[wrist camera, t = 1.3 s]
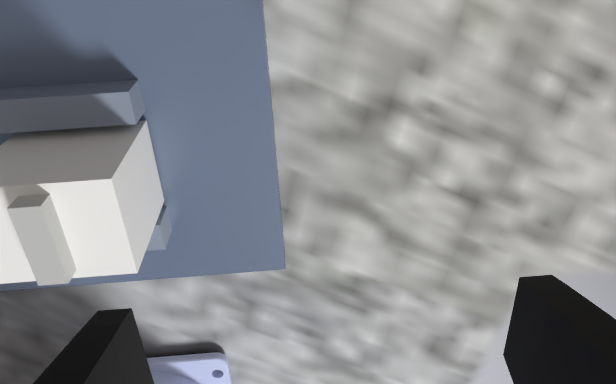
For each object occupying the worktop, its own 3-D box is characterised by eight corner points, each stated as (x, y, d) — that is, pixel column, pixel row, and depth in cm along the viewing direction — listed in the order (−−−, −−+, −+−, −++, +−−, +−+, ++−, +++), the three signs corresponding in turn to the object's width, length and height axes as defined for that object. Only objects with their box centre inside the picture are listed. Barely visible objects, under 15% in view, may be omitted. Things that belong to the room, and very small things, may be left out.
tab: (164, 200, 17) (132, 287, 13) (48, 209, 17) (-19, 299, 13) (146, 120, 16) (104, 190, 12) (19, 128, 16) (-67, 202, 12)
